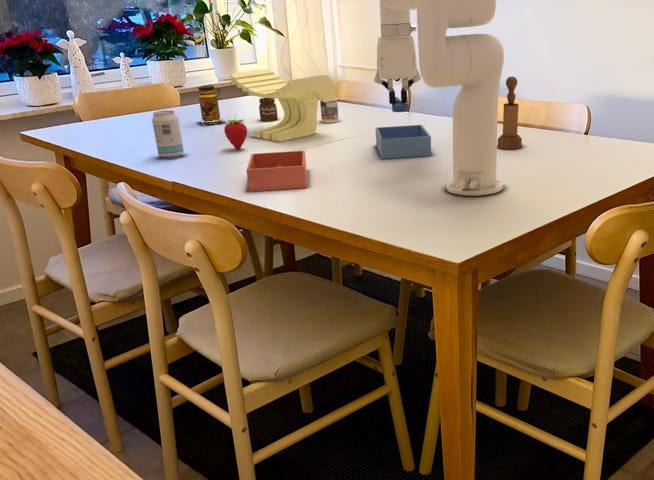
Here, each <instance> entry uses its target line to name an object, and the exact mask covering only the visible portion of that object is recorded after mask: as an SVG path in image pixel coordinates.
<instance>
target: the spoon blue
mask: <svg viewBox="0 0 654 480" xmlns="http://www.w3.org/2000/svg"><path fill="white" fill-rule="evenodd" d="M409 111H410V105H409V103H408V102H407V103H402V102H401V98H399V96H395V104H391V112H392V113H406V112H409Z"/></svg>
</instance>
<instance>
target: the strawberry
mask: <svg viewBox="0 0 654 480" xmlns="http://www.w3.org/2000/svg"><path fill="white" fill-rule="evenodd" d="M236 116H237V114H235V115H234V118H236ZM223 129H224V134H225V137H226V139H227V140H228V142H229V143H230V144H231V145H232V147H233V148H234V149H235V150H237V151H240V150H241V149H242V146H243V145H244V144H245V141H246V139H247V137H248V128H247V126H246V124H245V122H244V119H228V120H227V124H226V123H225V125H224V127H223Z"/></svg>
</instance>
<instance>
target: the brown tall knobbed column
mask: <svg viewBox="0 0 654 480" xmlns="http://www.w3.org/2000/svg"><path fill="white" fill-rule="evenodd" d="M517 85H518V78H517V77H515V76H508V77H507V78H506V80H505V86H506V88H507V90H508V93H507V95H506V98H507V103H503V117H502V134H501V135H500V136H499V137H497V149H498V148H499V149H500V150H501V149H502V150H517V149H520V148H522V147H523V144H522V143H523V138H522V137H521V135H519V134H518V128H519V127H518V123H519V107H520V106H519V104H518V103H515V100H516V96H517V95H516V94H515V89H516V87H517Z"/></svg>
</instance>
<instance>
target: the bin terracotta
mask: <svg viewBox="0 0 654 480" xmlns="http://www.w3.org/2000/svg"><path fill="white" fill-rule="evenodd" d="M278 164H280V165H282V166H283V167H276V165H278ZM307 169H308V168H307V159H306V151H305V150H290V151H275V152H258V153H257V152H256V153H251V154H250V157H249V160H248V163H247V167H246V177H247V184H248V185H247V186H248V191H249V192H263V191H265V192H266V191H280V190H295V189H307V187H308V170H307Z"/></svg>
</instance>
